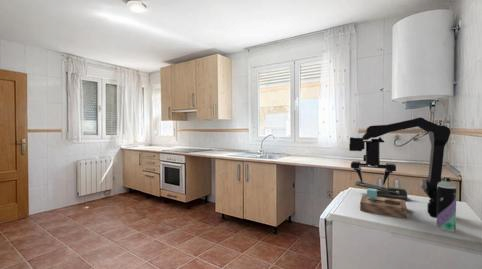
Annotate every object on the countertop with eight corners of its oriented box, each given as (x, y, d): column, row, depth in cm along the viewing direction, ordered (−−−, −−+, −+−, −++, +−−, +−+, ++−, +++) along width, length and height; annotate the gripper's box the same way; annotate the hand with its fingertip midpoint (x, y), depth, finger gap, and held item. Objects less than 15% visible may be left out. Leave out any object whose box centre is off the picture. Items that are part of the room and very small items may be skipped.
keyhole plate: (404, 208, 111) (404, 200, 111) (406, 217, 100) (406, 208, 100) (362, 202, 120) (362, 194, 120) (360, 210, 109) (360, 202, 109)
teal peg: (376, 207, 113) (376, 189, 113) (376, 209, 110) (376, 191, 109) (367, 205, 115) (367, 188, 115) (367, 208, 112) (367, 190, 112)
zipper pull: (356, 180, 140) (406, 185, 128) (356, 191, 141) (406, 197, 128) (354, 183, 133) (408, 189, 120) (354, 195, 133) (408, 201, 120)
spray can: (437, 229, 89) (438, 178, 88) (435, 224, 93) (436, 175, 92) (457, 233, 86) (458, 179, 85) (453, 227, 90) (454, 176, 89)
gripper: (395, 150, 113) (395, 182, 114) (353, 149, 123) (353, 178, 124) (396, 153, 104) (395, 187, 105) (350, 151, 114) (350, 182, 115)
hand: (372, 183), depth 112 cm, fingers open, 9 cm apart
